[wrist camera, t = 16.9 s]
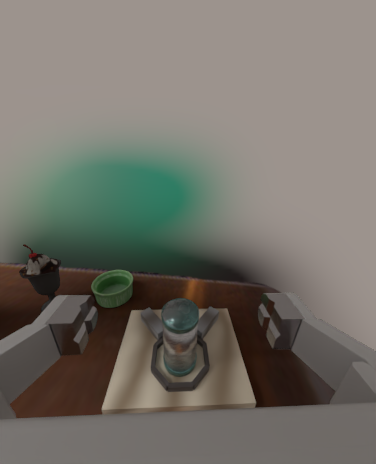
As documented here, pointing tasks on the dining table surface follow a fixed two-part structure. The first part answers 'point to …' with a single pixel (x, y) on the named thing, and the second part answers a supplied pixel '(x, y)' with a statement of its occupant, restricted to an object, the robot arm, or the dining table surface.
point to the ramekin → (113, 288)
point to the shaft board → (171, 387)
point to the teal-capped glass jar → (180, 336)
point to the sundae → (42, 275)
